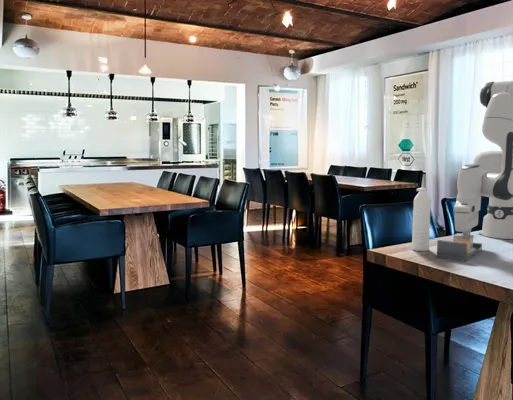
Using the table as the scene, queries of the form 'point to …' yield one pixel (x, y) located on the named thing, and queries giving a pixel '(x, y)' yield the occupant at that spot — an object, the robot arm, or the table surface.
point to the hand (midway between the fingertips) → (466, 239)
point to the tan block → (464, 239)
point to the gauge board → (456, 250)
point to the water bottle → (421, 221)
